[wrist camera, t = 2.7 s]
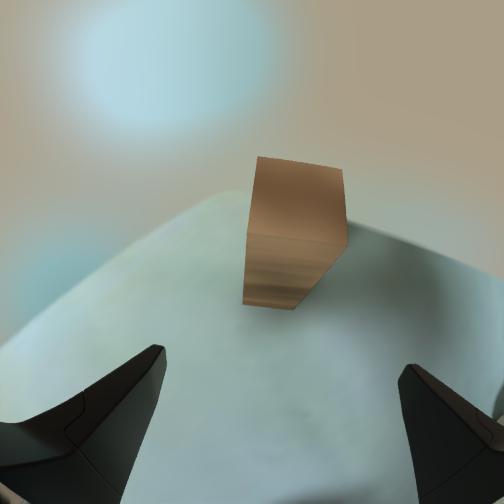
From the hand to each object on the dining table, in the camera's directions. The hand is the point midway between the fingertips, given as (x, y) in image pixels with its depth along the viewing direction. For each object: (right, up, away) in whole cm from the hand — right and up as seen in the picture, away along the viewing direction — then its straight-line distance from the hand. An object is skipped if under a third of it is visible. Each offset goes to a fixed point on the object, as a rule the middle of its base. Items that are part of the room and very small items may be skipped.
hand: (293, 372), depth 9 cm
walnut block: (0, +1, +16) cm, 16 cm away
